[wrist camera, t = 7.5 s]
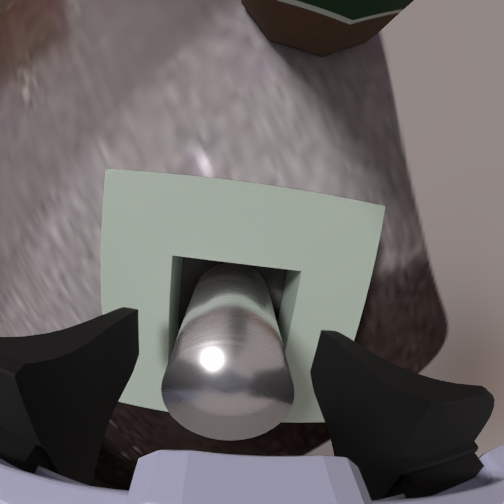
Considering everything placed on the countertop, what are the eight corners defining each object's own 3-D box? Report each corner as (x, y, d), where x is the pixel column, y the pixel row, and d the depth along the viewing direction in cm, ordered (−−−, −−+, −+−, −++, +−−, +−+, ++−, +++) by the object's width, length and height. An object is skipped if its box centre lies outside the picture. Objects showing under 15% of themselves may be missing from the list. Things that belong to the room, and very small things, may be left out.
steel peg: (191, 327, 16) (162, 432, 9) (197, 257, 15) (160, 334, 8) (262, 335, 17) (280, 443, 9) (274, 267, 16) (307, 350, 8)
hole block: (126, 370, 17) (111, 399, 14) (129, 170, 14) (106, 169, 11) (314, 391, 18) (325, 421, 15) (359, 200, 15) (385, 206, 12)
